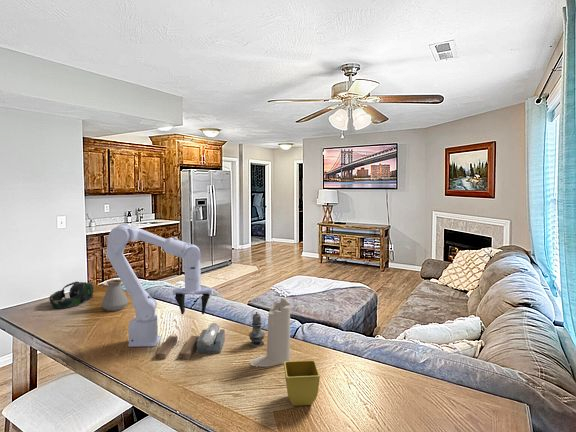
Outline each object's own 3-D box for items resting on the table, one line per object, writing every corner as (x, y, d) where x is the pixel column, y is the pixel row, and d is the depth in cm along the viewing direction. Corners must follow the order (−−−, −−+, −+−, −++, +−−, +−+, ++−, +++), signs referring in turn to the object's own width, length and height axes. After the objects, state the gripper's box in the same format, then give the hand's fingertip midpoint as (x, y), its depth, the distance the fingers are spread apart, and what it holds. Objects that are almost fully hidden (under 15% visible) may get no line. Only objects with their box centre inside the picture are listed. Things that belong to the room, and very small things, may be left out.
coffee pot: (112, 314, 161) (111, 281, 160) (95, 310, 167) (94, 278, 165) (150, 301, 180) (150, 271, 179) (135, 297, 185) (134, 268, 184)
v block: (196, 353, 124) (196, 341, 124) (203, 340, 134) (202, 329, 134) (220, 352, 125) (220, 341, 124) (224, 340, 134) (224, 329, 134)
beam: (156, 359, 120) (156, 353, 120) (169, 340, 134) (168, 336, 134) (189, 358, 120) (189, 353, 120) (199, 340, 134) (198, 335, 134)
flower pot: (283, 391, 101) (283, 360, 100) (314, 390, 102) (314, 359, 101) (286, 411, 93) (286, 377, 92) (320, 409, 93) (320, 376, 92)
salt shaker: (262, 348, 128) (262, 315, 127) (246, 346, 129) (246, 313, 128) (266, 341, 134) (266, 309, 133) (251, 339, 135) (251, 308, 134)
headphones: (71, 285, 188) (39, 302, 169) (84, 268, 184) (52, 285, 165) (90, 303, 188) (59, 322, 169) (103, 287, 184) (74, 305, 165)
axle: (213, 347, 123) (213, 336, 122) (201, 347, 123) (201, 336, 122) (219, 333, 135) (219, 322, 134) (208, 333, 134) (208, 322, 134)
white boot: (246, 360, 120) (245, 300, 118) (284, 352, 125) (284, 295, 123) (252, 370, 113) (252, 307, 111) (293, 361, 118) (293, 301, 117)
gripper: (169, 280, 131) (170, 317, 132) (210, 280, 131) (210, 317, 132) (175, 275, 138) (176, 310, 139) (213, 275, 138) (214, 310, 139)
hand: (193, 313), depth 136 cm, fingers open, 7 cm apart
